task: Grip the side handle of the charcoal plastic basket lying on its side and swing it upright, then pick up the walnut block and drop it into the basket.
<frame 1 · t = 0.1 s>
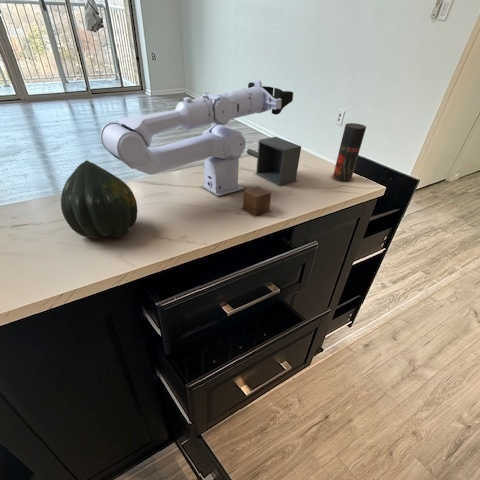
hand: (282, 94, 87), 22 cm above the worktop, tool horizontal, fingers open, 7 cm apart
squash: (106, 231, 73), on the worktop
basket: (271, 158, 99), point 5 cm above the worktop, hinge at 90.0°
block: (255, 210, 84), on the worktop
deodorant: (341, 178, 103), on the worktop
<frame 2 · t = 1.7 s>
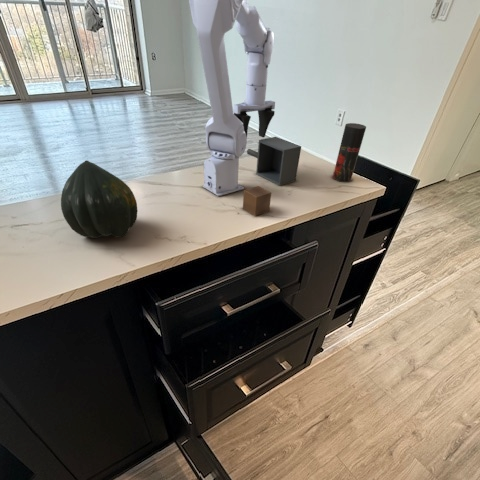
hand: (252, 138, 99), 9 cm above the worktop, tool pointing down, fingers open, 7 cm apart
nothing on the worktop moved.
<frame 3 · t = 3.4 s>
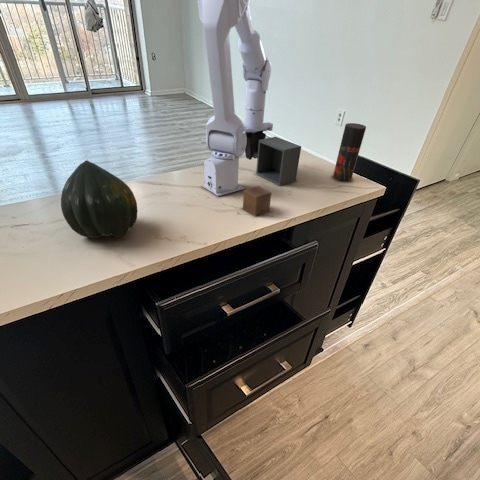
hand: (251, 158, 103), 3 cm above the worktop, tool pointing down, fingers closed on basket, 2 cm apart
basket: (271, 158, 99), point 5 cm above the worktop, hinge at 90.0°, touching gripper
everything else where it was.
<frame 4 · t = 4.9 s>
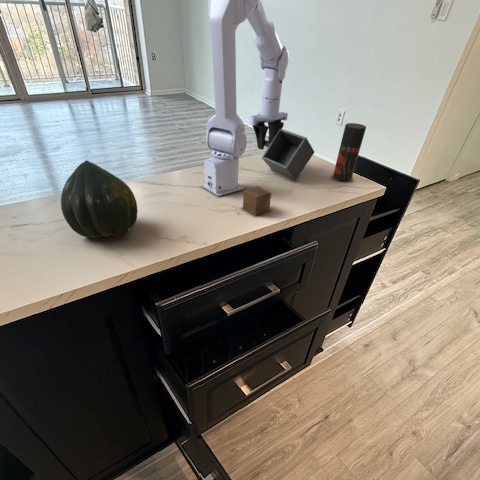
hand: (266, 147, 104), 6 cm above the worktop, tool pointing down, fingers open, 4 cm apart
basket: (281, 152, 100), point 6 cm above the worktop, hinge at 47.9°, touching gripper
everything else where it was.
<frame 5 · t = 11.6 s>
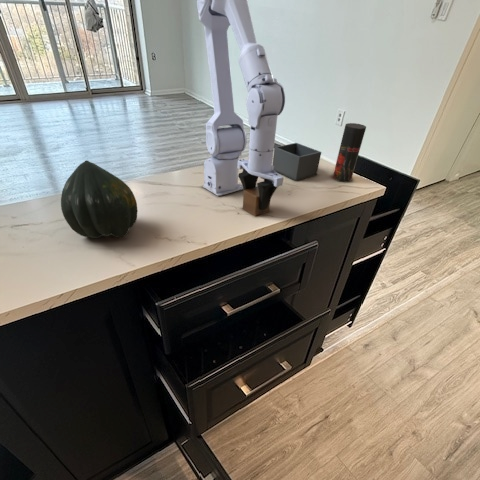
hand: (256, 205, 83), 1 cm above the worktop, tool pointing down, fingers closed on block, 5 cm apart
basket: (289, 158, 104), point 3 cm above the worktop, hinge at 0.0°
block: (255, 210, 84), on the worktop, touching gripper
everything else where it was.
when the fingers open (6 cm above the worktop, at t = 17.1 s): block drops 4 cm, resting on basket.
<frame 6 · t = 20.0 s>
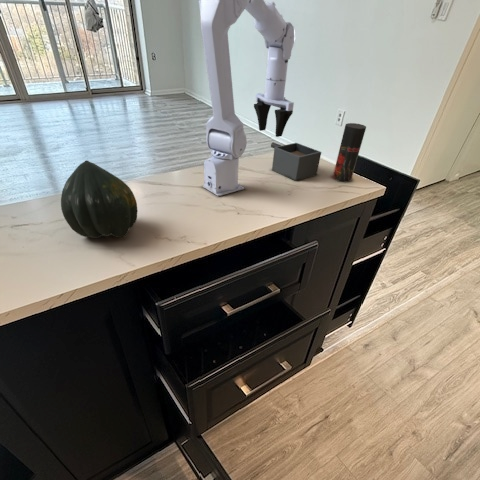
hand: (270, 133, 100), 10 cm above the worktop, tool pointing down, fingers open, 7 cm apart
basket: (289, 158, 104), point 3 cm above the worktop, hinge at 0.0°, touching block
block: (294, 170, 105), point 1 cm above the worktop, touching basket
everything else where it was.
at the end: basket at +0° (first picture: +90°); block inside the target area on the basket (0.0 cm from its centre), point 0.6 cm above the basket's base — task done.
